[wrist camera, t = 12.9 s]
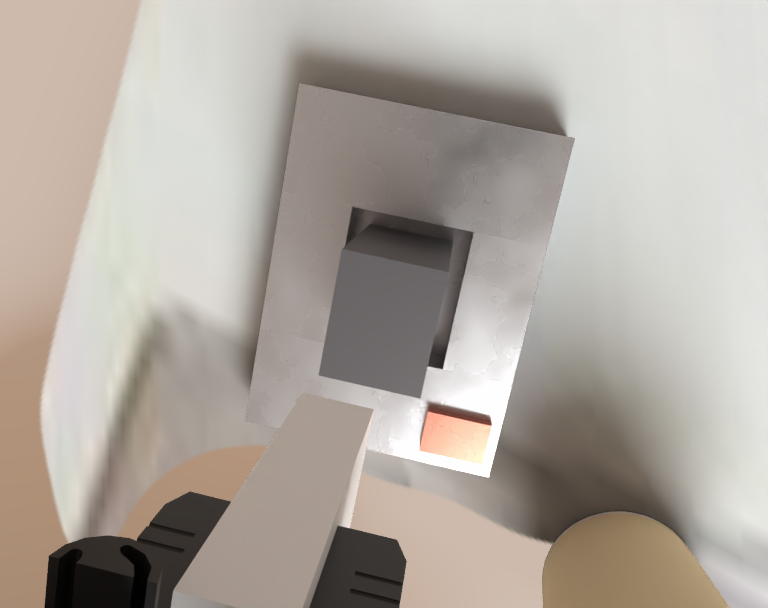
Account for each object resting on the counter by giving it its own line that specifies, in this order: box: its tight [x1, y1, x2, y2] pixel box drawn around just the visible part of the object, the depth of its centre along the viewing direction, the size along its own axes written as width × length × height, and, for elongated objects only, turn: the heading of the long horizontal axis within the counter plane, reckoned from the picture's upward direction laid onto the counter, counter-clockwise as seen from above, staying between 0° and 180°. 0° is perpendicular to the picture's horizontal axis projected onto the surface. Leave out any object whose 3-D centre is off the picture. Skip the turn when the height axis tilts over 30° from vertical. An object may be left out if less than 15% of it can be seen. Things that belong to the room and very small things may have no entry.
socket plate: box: [245, 83, 575, 477], centre depth 34 cm, size 16×12×3 cm
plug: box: [319, 224, 453, 399], centre depth 31 cm, size 5×4×8 cm
